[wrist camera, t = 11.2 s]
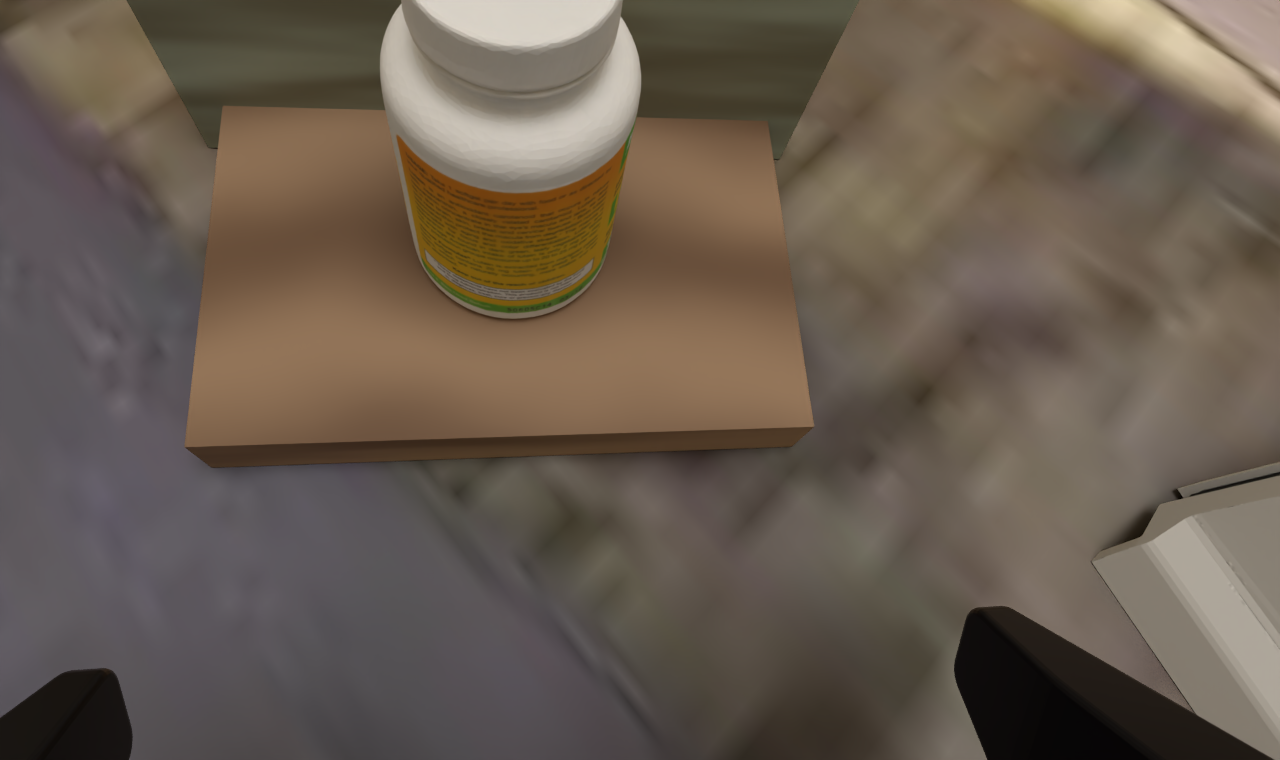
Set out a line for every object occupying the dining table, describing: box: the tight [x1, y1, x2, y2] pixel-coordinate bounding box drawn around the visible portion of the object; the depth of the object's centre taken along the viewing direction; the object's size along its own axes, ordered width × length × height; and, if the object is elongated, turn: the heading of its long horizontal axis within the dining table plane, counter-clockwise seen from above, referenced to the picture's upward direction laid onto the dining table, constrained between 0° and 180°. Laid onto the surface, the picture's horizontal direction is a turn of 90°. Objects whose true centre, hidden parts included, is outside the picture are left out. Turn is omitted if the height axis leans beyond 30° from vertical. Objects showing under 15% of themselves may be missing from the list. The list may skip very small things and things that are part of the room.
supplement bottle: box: [380, 0, 641, 319], centre depth 19 cm, size 5×5×10 cm
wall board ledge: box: [127, 0, 859, 468], centre depth 22 cm, size 12×18×8 cm, turn 94°
